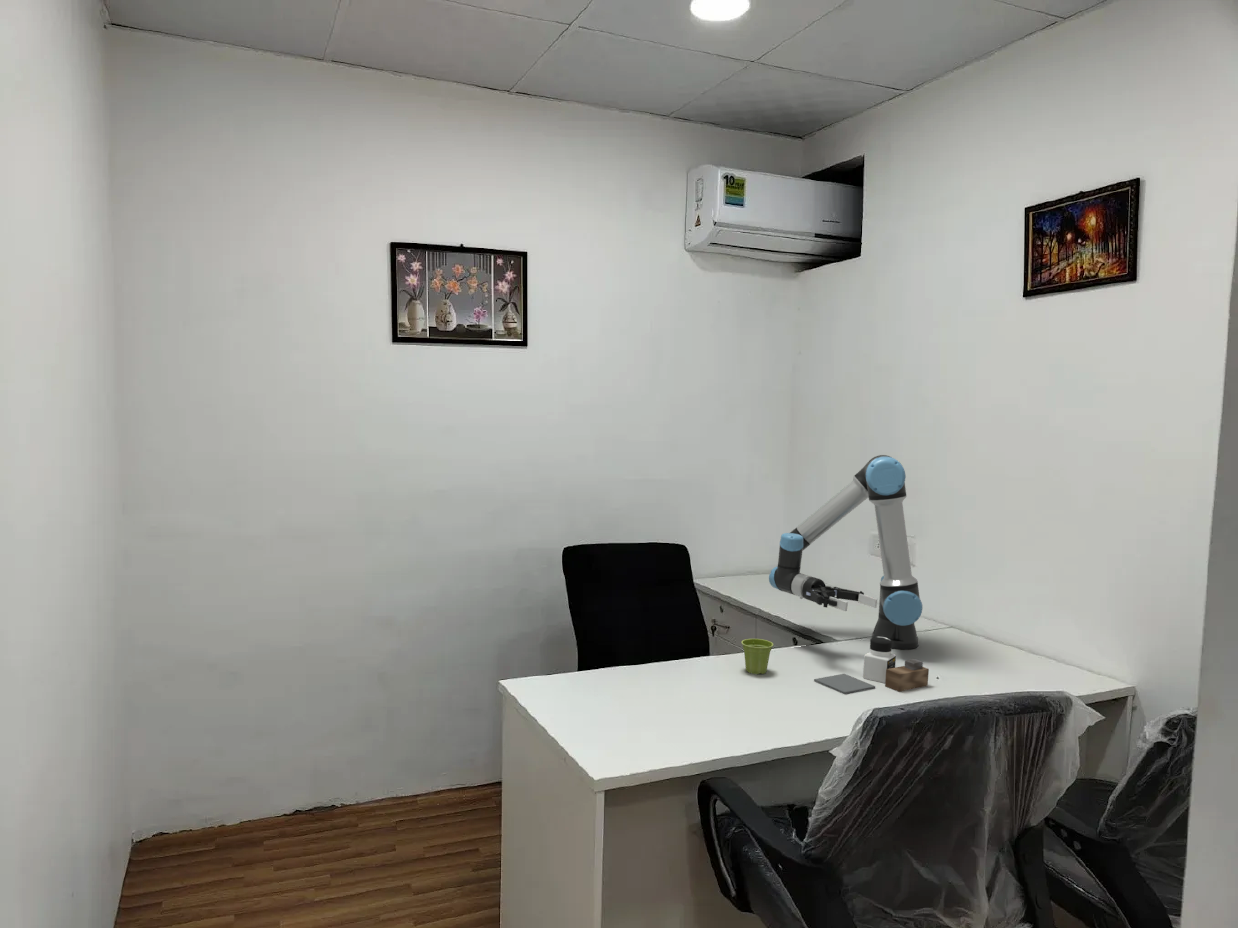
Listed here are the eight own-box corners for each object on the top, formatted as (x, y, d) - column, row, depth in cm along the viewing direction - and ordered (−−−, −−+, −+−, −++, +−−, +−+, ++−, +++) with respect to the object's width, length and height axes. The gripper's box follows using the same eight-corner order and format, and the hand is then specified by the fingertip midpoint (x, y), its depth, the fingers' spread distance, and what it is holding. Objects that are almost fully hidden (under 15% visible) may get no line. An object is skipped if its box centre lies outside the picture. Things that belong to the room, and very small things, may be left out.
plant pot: (735, 672, 248) (736, 643, 247) (746, 664, 256) (747, 636, 255) (766, 678, 243) (767, 649, 243) (775, 670, 252) (777, 641, 251)
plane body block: (913, 680, 247) (915, 657, 246) (927, 685, 242) (929, 662, 242) (885, 686, 241) (886, 662, 240) (898, 691, 236) (900, 667, 236)
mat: (844, 675, 249) (844, 673, 249) (875, 688, 239) (875, 686, 238) (814, 681, 243) (814, 679, 243) (844, 694, 232) (844, 692, 232)
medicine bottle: (886, 683, 243) (889, 643, 242) (862, 678, 247) (864, 638, 246) (894, 677, 248) (897, 638, 248) (871, 672, 253) (873, 633, 252)
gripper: (834, 596, 279) (886, 613, 262) (780, 601, 265) (832, 620, 247) (836, 574, 278) (889, 590, 261) (783, 578, 264) (835, 595, 247)
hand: (861, 605), depth 254 cm, fingers open, 13 cm apart
